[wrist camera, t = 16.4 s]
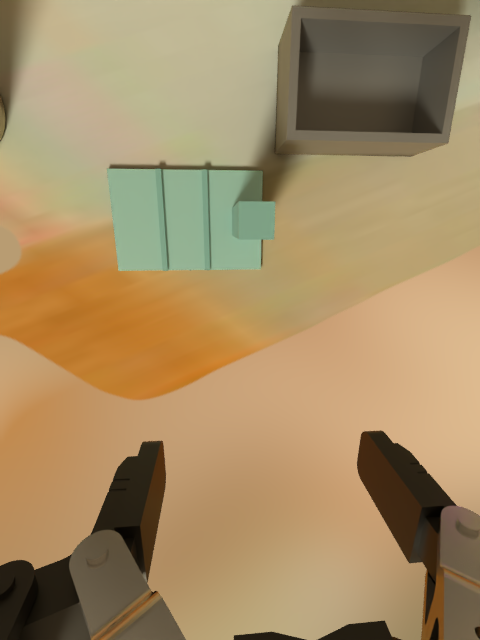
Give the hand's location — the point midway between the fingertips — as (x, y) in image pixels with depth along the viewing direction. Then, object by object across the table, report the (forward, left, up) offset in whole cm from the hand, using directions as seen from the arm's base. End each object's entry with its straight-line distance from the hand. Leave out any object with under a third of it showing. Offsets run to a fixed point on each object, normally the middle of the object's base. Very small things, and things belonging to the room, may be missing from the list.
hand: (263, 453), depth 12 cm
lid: (-9, +5, -28) cm, 30 cm away
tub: (-2, +25, -28) cm, 38 cm away
